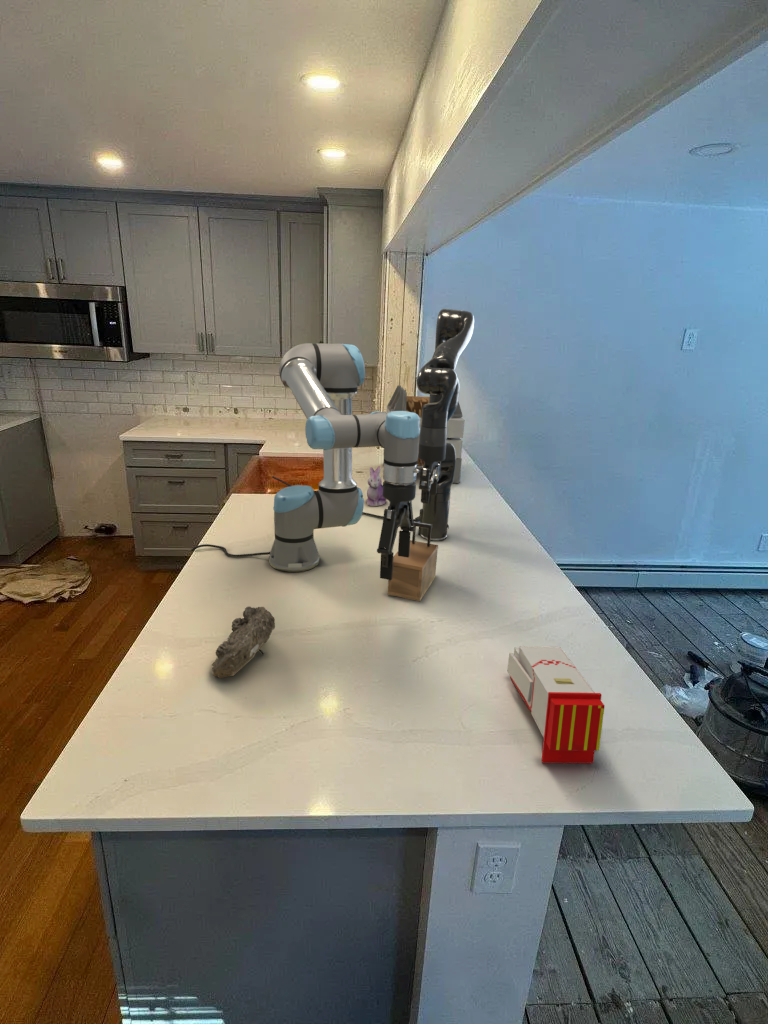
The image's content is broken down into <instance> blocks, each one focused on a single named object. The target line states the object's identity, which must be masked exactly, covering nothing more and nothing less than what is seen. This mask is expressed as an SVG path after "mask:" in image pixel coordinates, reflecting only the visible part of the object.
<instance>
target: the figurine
mask: <svg viewBox="0 0 768 1024" xmlns="http://www.w3.org/2000/svg"><path fill="white" fill-rule="evenodd" d="M381 469H382V468H381V466H378V467H377V468H376V469H375V470H374V468H373V467H372V466H370V467H369V477H368V479H367V484H368V488H367V491H366V497H367V498H366V504H367V506H370V507H377V506H383V505H385V504H386V502H387V500H386V499H385V498H384V497H383V495H382V494H383V482H382V478H381V475H380V474H381Z"/></svg>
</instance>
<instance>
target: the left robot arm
mask: <svg viewBox="0 0 768 1024" xmlns="http://www.w3.org/2000/svg"><path fill="white" fill-rule="evenodd" d="M365 367H366V366H365V362H364V357H363V355H362V353H361V351H360V349H359V348H358V347H357V346H356V345H354V344H348V343H342V342H341V343H311V342H305V343H300V344H298V345H294V346H293V347H292V348H290V349H288V351H287V352H285V353H284V355H283V356H282V357H281V360H280V363H279V366H278V375H279V379H280V381H281V383H282V385H283V386H284V388H285V389H286V390H288V391H289V392H291V393H292V395H293V397H294V398H295V401H296V402H297V404H298V406H299V407H300V409H301V412H302V413H303V414H304V416H305V419H306V422H305V428H304V432H305V433H304V434H305V439H306V444H307V445H308V447H309V448H310V449H312V450H323V451H322V453H323V454H322V455H323V457H322V458H323V459H322V460H323V461H322V463H323V477H322V479H321V480H320V481H319V482H318V489H316V490H314V488H313V487H312V486H310V485H306V484H304V485H302V484H295V485H291V486H287V487H283V488H282V489H280V490H278V491H277V492H276V493H275V495H274V497H273V498H274V499H273V508H272V509H273V519H274V526H273V527H274V540H273V544H272V546H271V550H270V551H265V552H255V553H243V554H242V553H241V554H233V553H229V552H228V550H227V549H226V547H224V546H222V545H216V544H209V543H206V544H204V543H203V544H198V545H195V546H194V547H192V548H191V549H190V551H191V552H193V551H195V550H197V549H199V548H204V547H209V548H215V549H221V550H223V552H224V553H225V555H226V556H228V557H232V558H244V557H256V556H265V555H268V559H269V560H268V561H269V562H268V563H269V565H270V567H272V568H273V569H275V570H277V571H280V572H286V573H287V572H288V573H299V572H306V571H310V570H312V569H314V568H315V567H317V566H318V565H319V564H320V553H319V550H318V547H317V544H316V542H315V539H314V538H315V537H314V530H317V529H318V530H319V529H328V528H337V527H338V528H339V527H348V526H352V525H356V524H357V523H358V522H359V521H360V520H361V518H362V516H363V514H362V513H363V512H364V507H365V506H364V505H365V500H364V492H363V490H362V489H361V488H360V487H358V483H357V481H355V480H354V478H353V449H354V448H357V449H359V448H374V447H377V448H378V447H381V448H383V463H384V464H383V467H382V468H383V470H382V473H383V474H382V480H383V482H382V485H383V494H382V495H383V497H384V498H385V499H386V501H388V502H389V505H388V506H387V508H384V509H383V516H384V518H382V524H381V530H380V531H381V532H380V535H379V541H378V546H377V548H376V553H377V554H380V566H379V567H380V569H379V579H383V580H387V581H388V580H392V574H393V556H394V555H395V554H394V552H393V550H394V546H395V541H396V538H397V534H398V544H397V545H398V547H397V548H398V550H397V552H398V556H402V557H409V551H410V540H411V536H412V535H411V533H413V532H414V527H413V525H414V521H413V519H414V514H413V513H414V512H413V504H412V503H413V502H412V501H413V500H415V498H416V495H417V494H416V493H417V492H416V491H417V483H416V481H417V476H418V475H417V474H420V469H419V468H417V467H418V466H417V460H418V447H419V434H420V418H419V416H418V415H417V414H416V413H414V412H408V411H392V412H389V413H386V412H387V411H381V410H375V411H372V412H369V413H368V414H367V413H365V414H353V398H354V397H355V396H356V394H358V388H359V387H360V386H362V385H363V384H364V382H365V378H366V368H365ZM399 528H400V530H399ZM398 530H399V531H398Z"/></svg>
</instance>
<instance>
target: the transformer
mask: <svg viewBox="0 0 768 1024" xmlns="http://www.w3.org/2000/svg"><path fill="white" fill-rule="evenodd" d="M407 394H408V393H407V390H406V389H404V388H403V387H402V385H399V384H398V385H397V386H396V388H395V390H394V392H393V394H392V395H391V398H390V400H389V402H388V404H387V405H386V411H385V412H386V413H389V412H392V411H408V412H414V413H416V414H417V415H418V416H419V418H420V429H421V418H422V408H423V406H424V405H425V404H428V403H429V397H430V396H415V395H414V396H413V395H412V396H411V395H407ZM464 429H465V419H464V418H463V411H462V408H461V405H460V402H459V401H458V405H457V408H456V410H455V412H454V413H453V415H452V416H451V418H450V419H449V420H448V422H447V442H446V443H451V444H452V445H453V446H454V448H455V451H456V463H455V470H454V478H453V483H452V484H455V483H456V484H459V483H461V472H462V461H463V460H462V453H463V442H464V441H463V440H462V439H463V438H464V431H465V430H464ZM419 435H420V434H419ZM418 450H419V447H418ZM383 465H384V462H383ZM417 467H422V464H421V460H420V459H419V458H418V460H417Z"/></svg>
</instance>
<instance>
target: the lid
mask: <svg viewBox="0 0 768 1024" xmlns="http://www.w3.org/2000/svg"><path fill="white" fill-rule="evenodd" d="M412 527H414V532H412V535H411V536H412V537H411V539H410V551H409V557H402V556H398V551H397V552H396V553H395V554H393V566H398V567H404V568H409V569H414V570H419V571H423V569H424V568H425V566H426V565H427V564H428V562H429V561H430V559H431V558H432V556H433V555H434V553H435V552H436V551H437V552H438V549H439V544H435V543H431V540H430V539H431V529H432V524H428V523H422V522H416V521H414V525H413V526H412ZM419 527H423V528H428V540H427V542H423V541H417V540H416V533H417V532H416V531H417V528H419Z"/></svg>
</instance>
